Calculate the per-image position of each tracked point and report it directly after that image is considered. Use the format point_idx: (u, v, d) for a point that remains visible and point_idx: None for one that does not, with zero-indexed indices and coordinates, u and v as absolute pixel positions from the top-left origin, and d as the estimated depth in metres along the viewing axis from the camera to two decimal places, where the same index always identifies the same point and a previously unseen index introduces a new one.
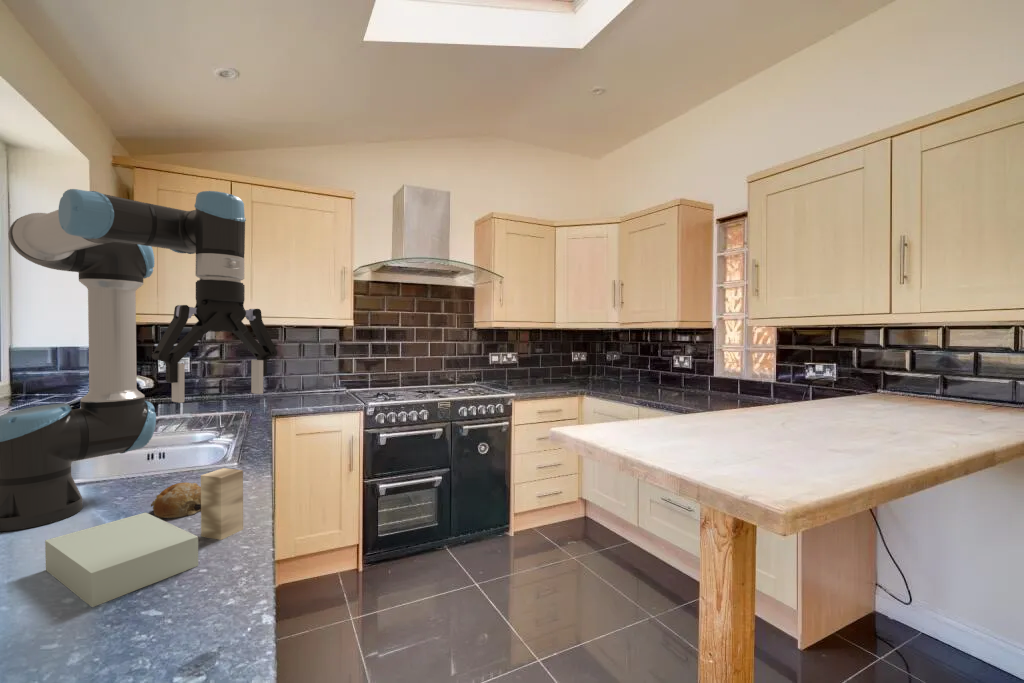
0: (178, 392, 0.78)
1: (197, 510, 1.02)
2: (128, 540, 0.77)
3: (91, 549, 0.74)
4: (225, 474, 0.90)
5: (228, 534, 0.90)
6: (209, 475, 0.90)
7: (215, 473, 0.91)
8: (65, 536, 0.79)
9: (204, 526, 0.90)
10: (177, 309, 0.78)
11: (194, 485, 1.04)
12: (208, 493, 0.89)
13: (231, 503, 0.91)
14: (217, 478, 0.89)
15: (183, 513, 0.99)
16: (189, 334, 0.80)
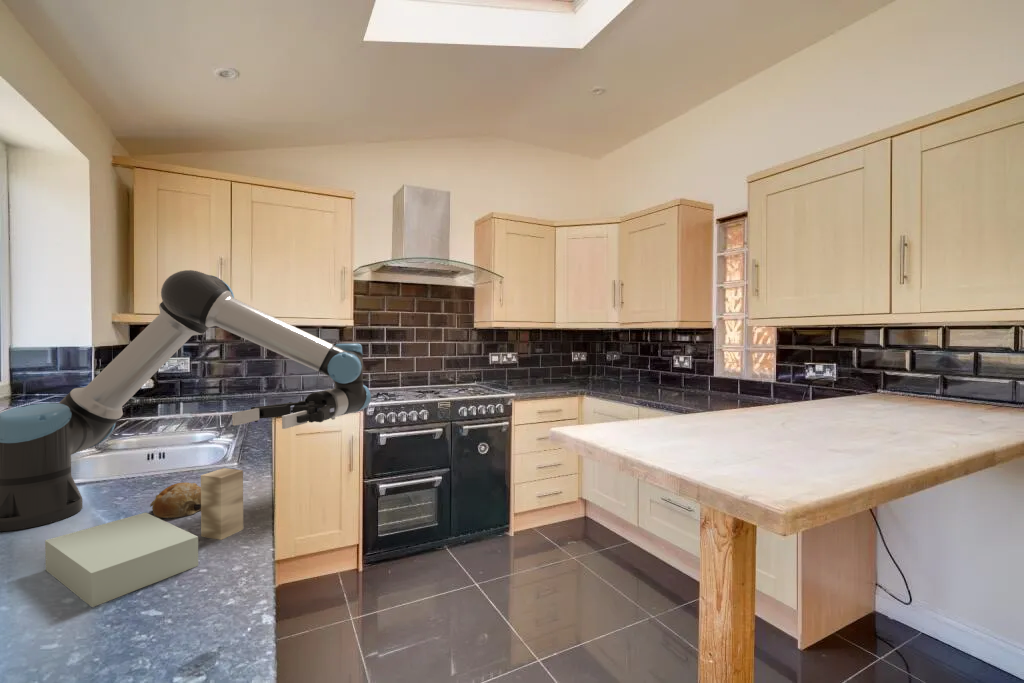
0: (291, 425, 0.99)
1: (196, 510, 1.02)
2: (128, 540, 0.77)
3: (91, 549, 0.74)
4: (225, 474, 0.90)
5: (228, 534, 0.90)
6: (209, 475, 0.90)
7: (215, 473, 0.91)
8: (65, 536, 0.79)
9: (204, 526, 0.90)
10: (333, 409, 1.12)
11: (193, 485, 1.04)
12: (208, 493, 0.89)
13: (231, 504, 0.91)
14: (217, 478, 0.89)
15: (182, 513, 0.99)
16: (314, 411, 1.09)
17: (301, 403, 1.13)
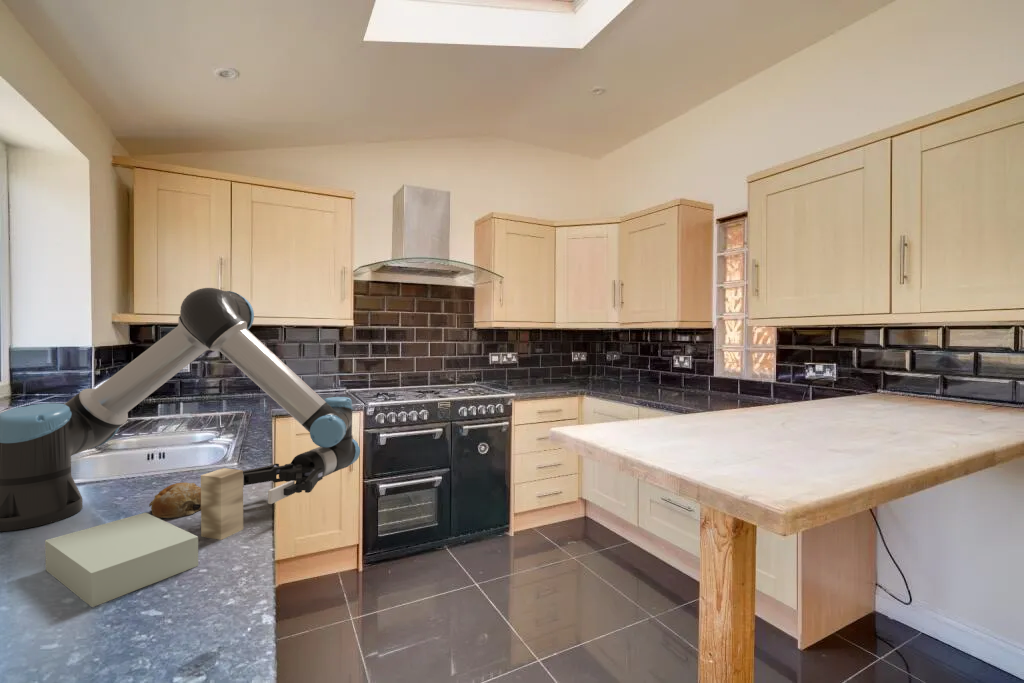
0: (277, 499, 0.95)
1: (195, 510, 1.02)
2: (128, 540, 0.77)
3: (91, 549, 0.74)
4: (225, 474, 0.90)
5: (228, 534, 0.90)
6: (209, 475, 0.90)
7: (215, 473, 0.91)
8: (65, 536, 0.79)
9: (204, 526, 0.90)
10: (321, 474, 1.09)
11: (192, 485, 1.04)
12: (208, 493, 0.89)
13: (231, 503, 0.91)
14: (217, 478, 0.89)
15: (181, 513, 0.99)
16: None
17: (288, 467, 1.09)
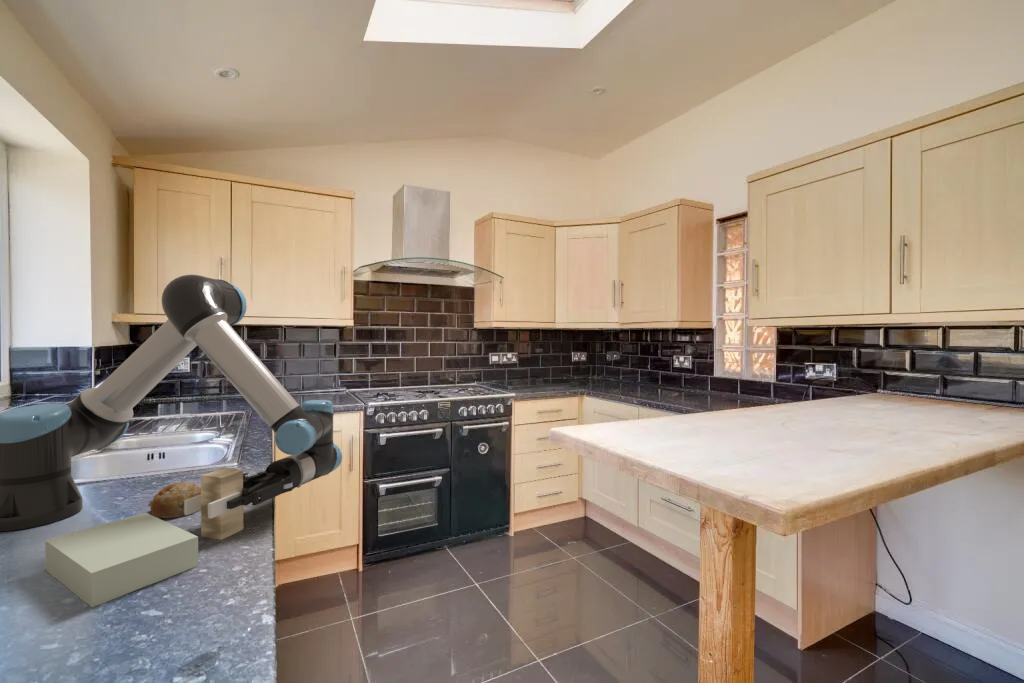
0: (219, 513, 0.87)
1: None
2: (128, 540, 0.77)
3: (91, 549, 0.74)
4: (225, 474, 0.90)
5: (228, 534, 0.90)
6: (209, 475, 0.90)
7: (215, 473, 0.91)
8: (65, 536, 0.79)
9: (204, 526, 0.90)
10: (289, 485, 1.00)
11: (192, 485, 1.04)
12: (208, 493, 0.89)
13: None
14: (217, 478, 0.89)
15: (180, 513, 0.99)
16: (262, 488, 0.97)
17: (262, 475, 1.02)
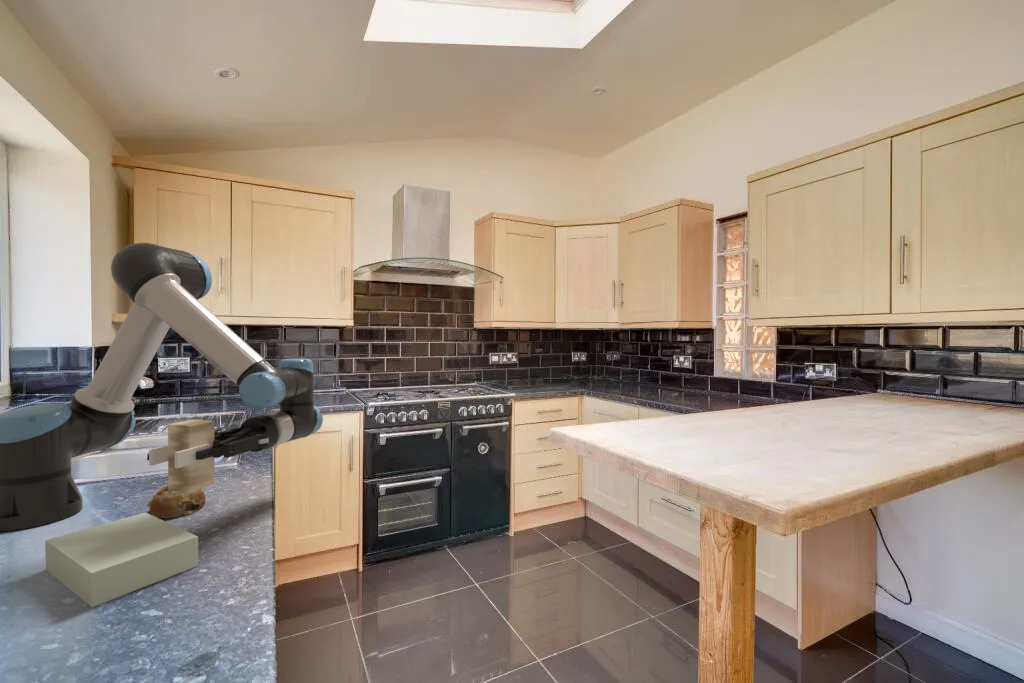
0: (187, 463, 0.81)
1: (194, 510, 1.02)
2: (128, 540, 0.77)
3: (91, 549, 0.74)
4: (195, 423, 0.85)
5: (197, 487, 0.84)
6: (177, 424, 0.84)
7: (184, 423, 0.85)
8: (65, 536, 0.79)
9: (171, 478, 0.84)
10: (265, 440, 0.94)
11: None
12: (176, 443, 0.83)
13: None
14: (185, 426, 0.83)
15: (180, 513, 0.99)
16: None
17: (236, 430, 0.96)
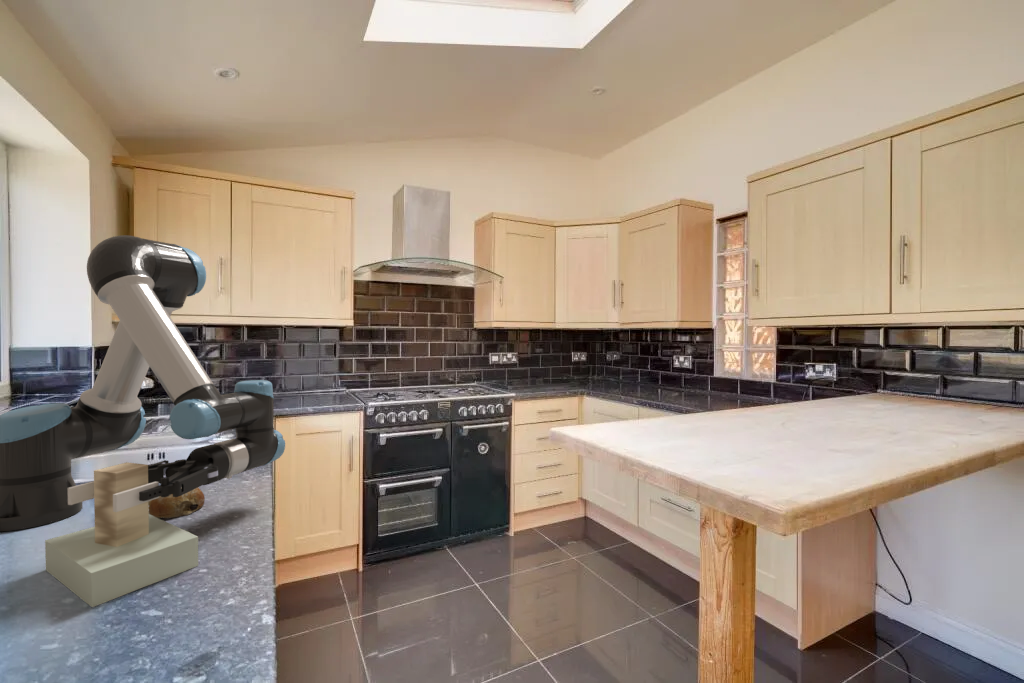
0: (128, 506, 0.74)
1: (193, 510, 1.02)
2: None
3: (91, 549, 0.74)
4: (123, 469, 0.77)
5: (127, 540, 0.76)
6: (104, 470, 0.76)
7: (112, 468, 0.77)
8: (65, 536, 0.79)
9: (98, 530, 0.76)
10: (215, 473, 0.87)
11: None
12: (102, 491, 0.75)
13: None
14: (111, 473, 0.75)
15: (179, 513, 0.99)
16: (183, 477, 0.84)
17: (179, 463, 0.88)
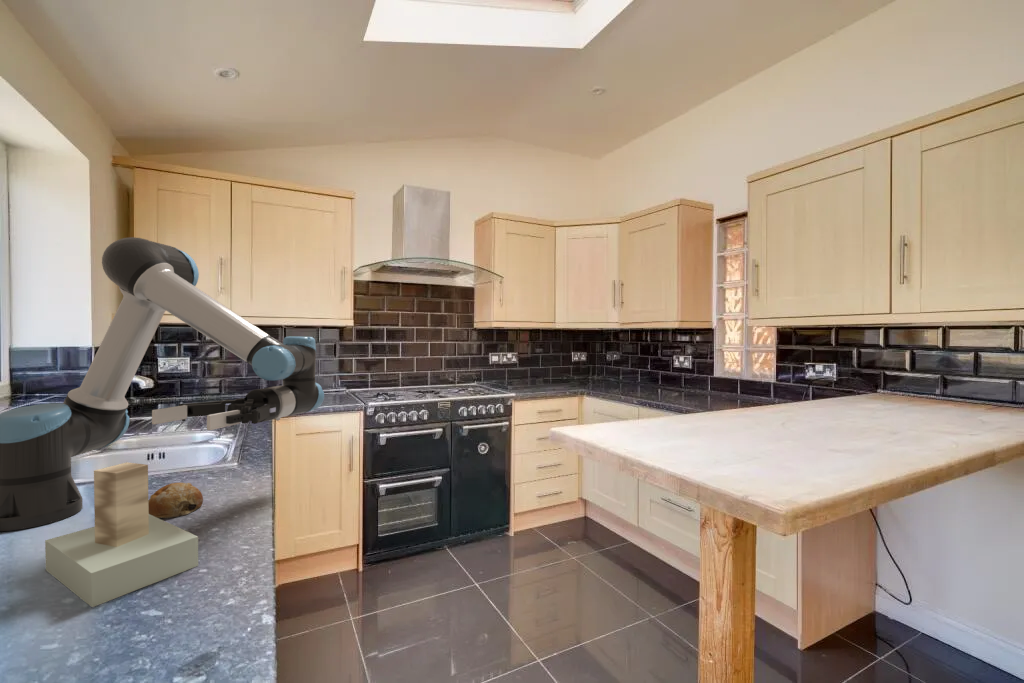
0: (218, 426, 0.87)
1: (191, 510, 1.02)
2: None
3: (91, 549, 0.74)
4: (123, 469, 0.77)
5: (127, 540, 0.76)
6: (104, 470, 0.76)
7: (112, 468, 0.77)
8: (65, 536, 0.79)
9: (98, 530, 0.76)
10: (274, 409, 1.00)
11: (188, 485, 1.04)
12: (102, 491, 0.75)
13: (131, 504, 0.77)
14: (111, 473, 0.75)
15: (177, 513, 0.99)
16: (251, 410, 0.97)
17: (238, 401, 1.01)
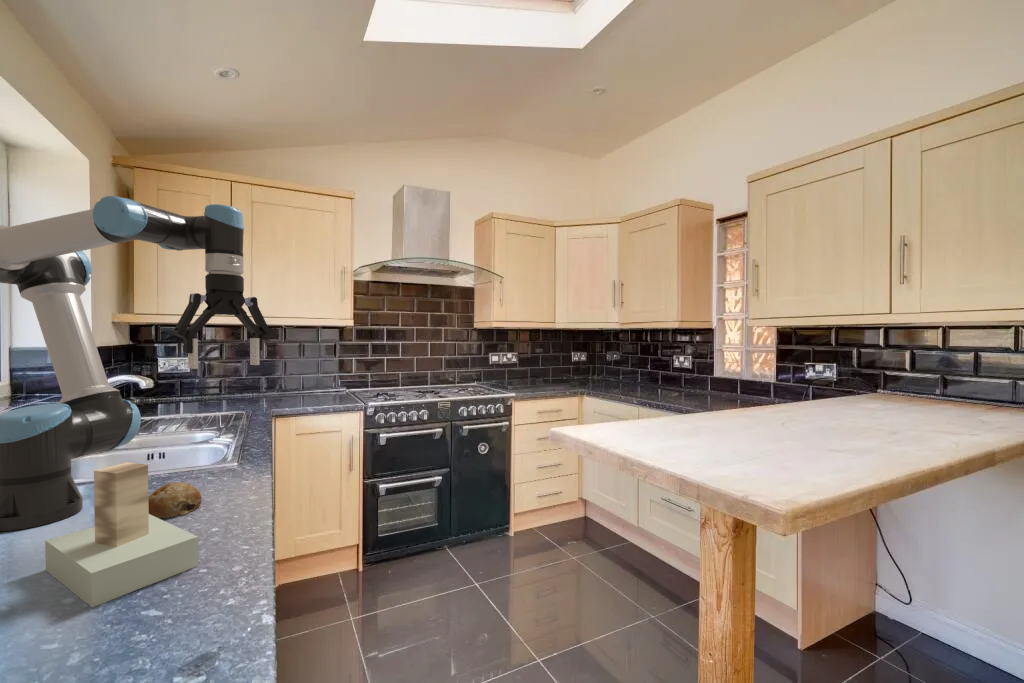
0: (193, 360, 1.00)
1: (190, 510, 1.02)
2: None
3: (91, 549, 0.74)
4: (123, 469, 0.77)
5: (127, 540, 0.76)
6: (104, 470, 0.76)
7: (112, 468, 0.77)
8: (65, 536, 0.79)
9: (98, 530, 0.76)
10: (192, 296, 1.01)
11: (187, 485, 1.04)
12: (102, 491, 0.75)
13: (131, 504, 0.77)
14: (111, 473, 0.75)
15: (175, 513, 0.99)
16: (201, 316, 1.03)
17: None
